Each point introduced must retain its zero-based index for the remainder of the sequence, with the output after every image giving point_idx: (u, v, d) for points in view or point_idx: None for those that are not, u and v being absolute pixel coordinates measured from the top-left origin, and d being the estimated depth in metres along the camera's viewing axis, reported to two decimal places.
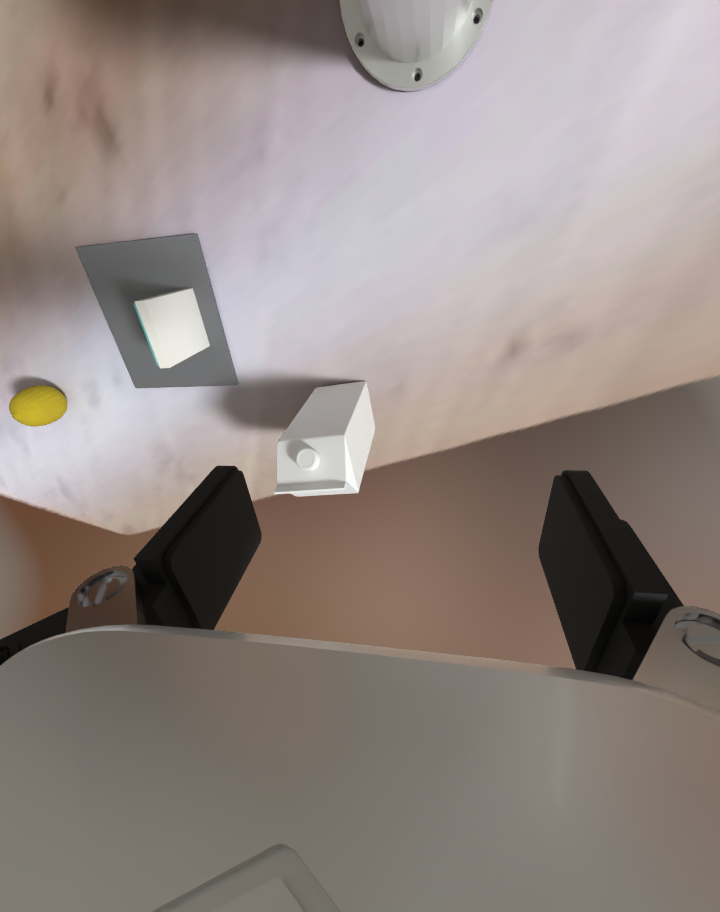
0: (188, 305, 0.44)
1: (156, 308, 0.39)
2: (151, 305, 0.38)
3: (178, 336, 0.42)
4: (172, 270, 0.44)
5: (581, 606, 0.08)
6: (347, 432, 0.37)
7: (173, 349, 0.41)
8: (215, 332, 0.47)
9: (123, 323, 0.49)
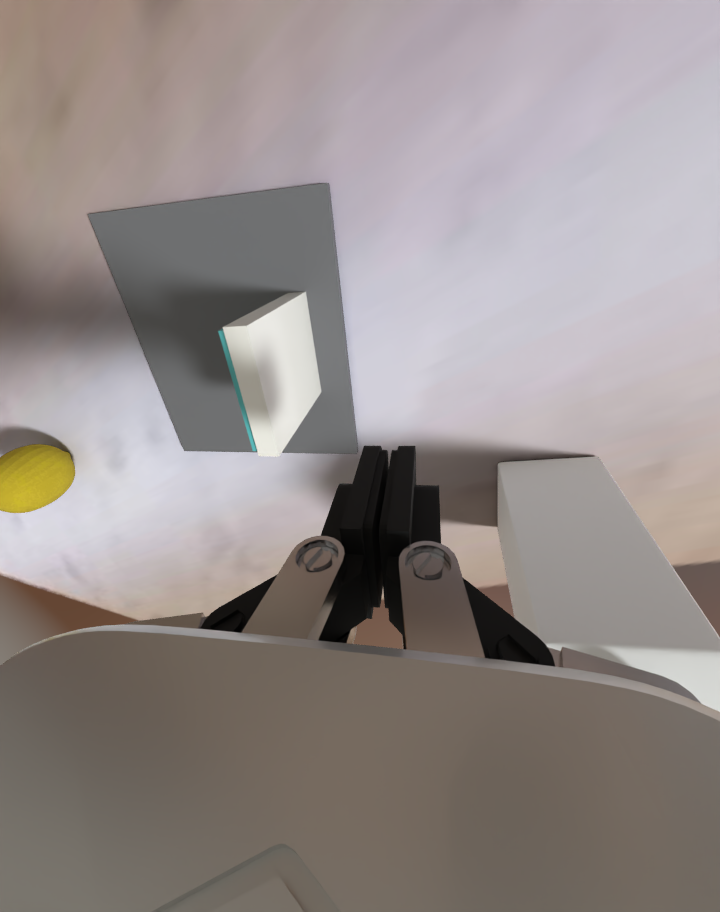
0: (300, 325, 0.23)
1: (263, 339, 0.18)
2: (256, 334, 0.17)
3: (289, 388, 0.22)
4: (270, 257, 0.23)
5: None
6: (712, 632, 0.16)
7: (284, 417, 0.21)
8: (336, 370, 0.26)
9: (171, 350, 0.28)
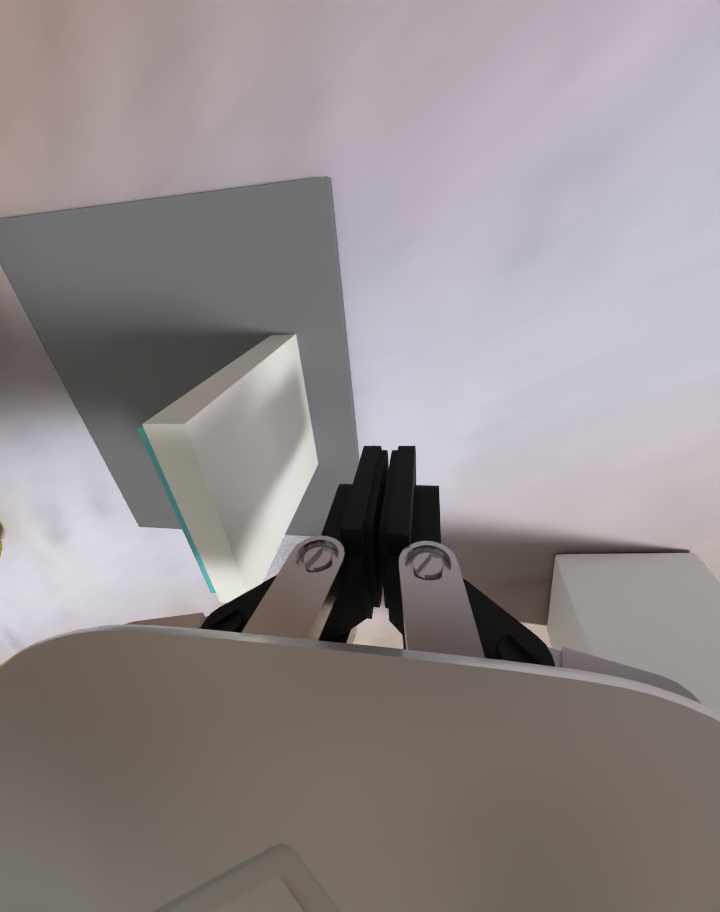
0: (288, 384, 0.16)
1: (220, 433, 0.11)
2: (206, 431, 0.10)
3: (270, 486, 0.14)
4: (244, 285, 0.16)
5: None
6: None
7: (260, 537, 0.13)
8: (338, 437, 0.19)
9: (112, 407, 0.20)
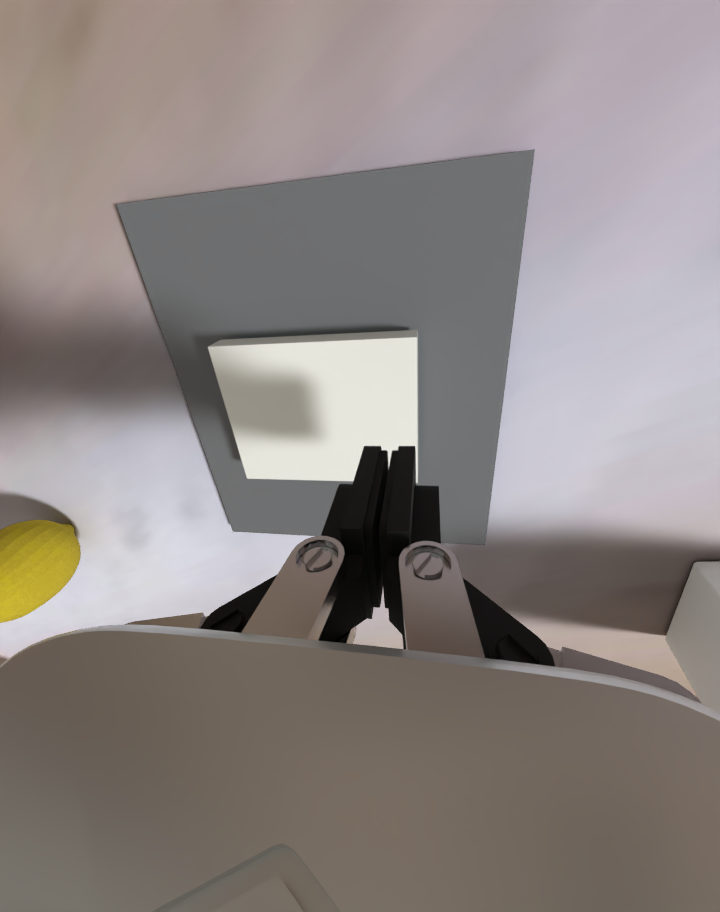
0: (370, 379, 0.16)
1: (241, 367, 0.16)
2: (226, 359, 0.16)
3: (297, 435, 0.18)
4: (408, 272, 0.15)
5: None
6: None
7: (271, 454, 0.18)
8: (480, 437, 0.18)
9: None
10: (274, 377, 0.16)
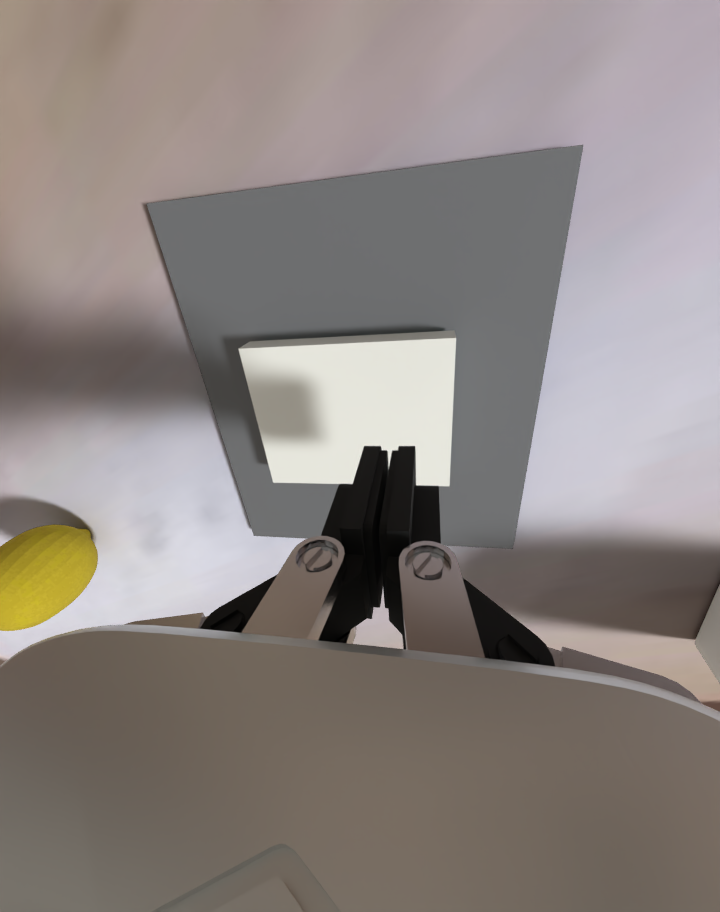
0: (405, 380, 0.15)
1: (272, 370, 0.16)
2: (256, 361, 0.16)
3: (327, 438, 0.17)
4: (446, 272, 0.14)
5: None
6: None
7: (299, 457, 0.18)
8: (513, 440, 0.18)
9: None
10: (306, 379, 0.16)
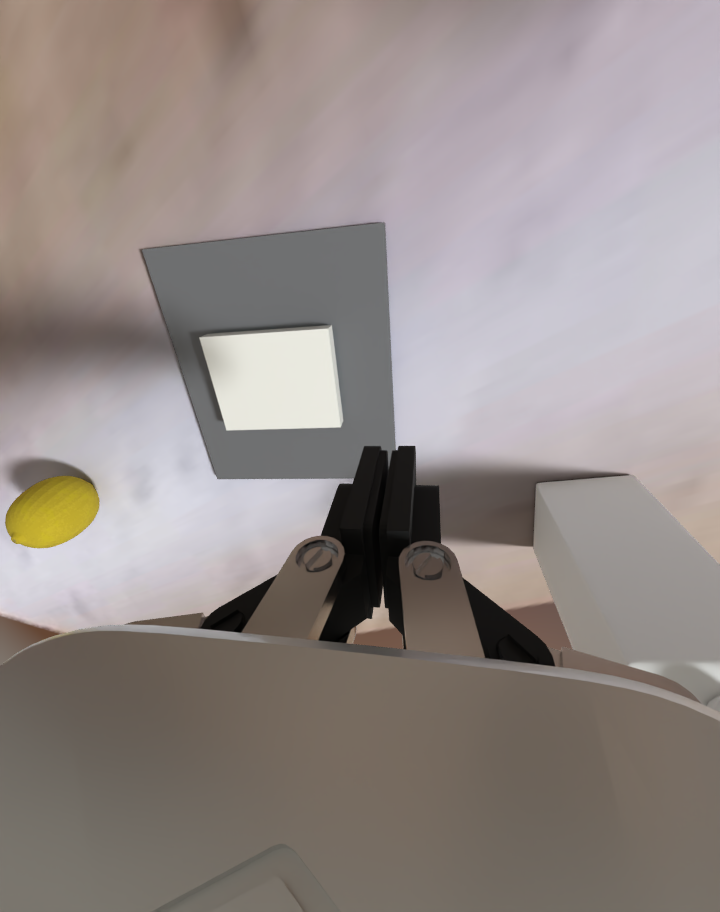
0: (302, 355, 0.25)
1: (221, 350, 0.25)
2: (211, 345, 0.25)
3: (259, 396, 0.27)
4: (323, 290, 0.24)
5: None
6: None
7: (242, 411, 0.27)
8: (381, 396, 0.27)
9: None
10: (242, 356, 0.25)
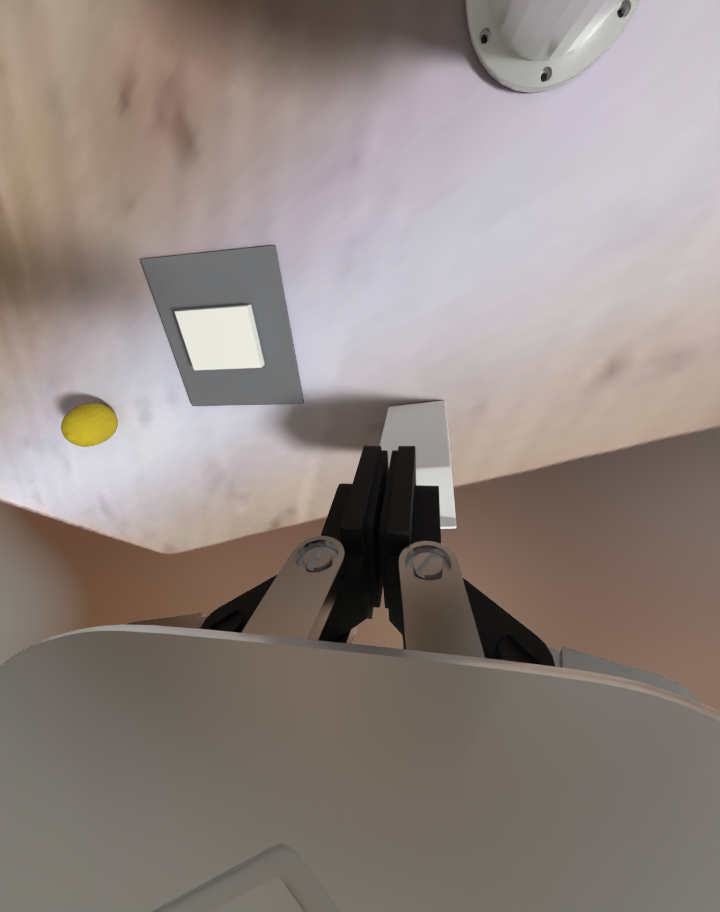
0: (234, 322, 0.42)
1: (187, 319, 0.43)
2: (181, 316, 0.43)
3: (211, 348, 0.44)
4: (244, 283, 0.41)
5: None
6: (450, 462, 0.34)
7: (202, 357, 0.45)
8: (285, 349, 0.44)
9: None
10: (200, 323, 0.43)
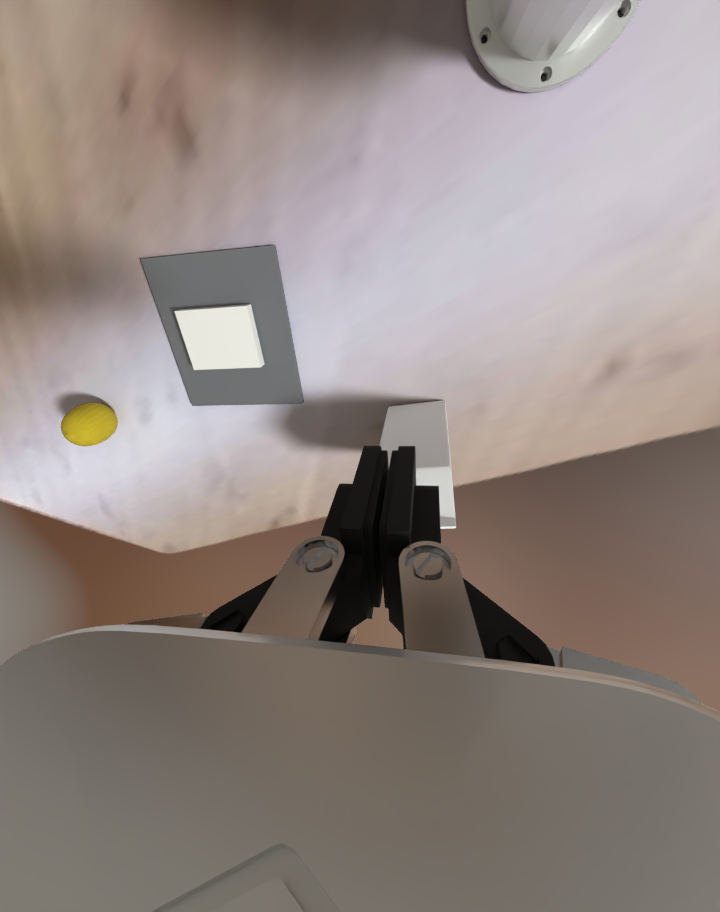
0: (234, 322, 0.42)
1: (187, 319, 0.43)
2: (181, 316, 0.43)
3: (211, 347, 0.44)
4: (244, 283, 0.41)
5: None
6: (450, 462, 0.34)
7: (202, 357, 0.45)
8: (285, 348, 0.44)
9: None
10: (199, 322, 0.43)
